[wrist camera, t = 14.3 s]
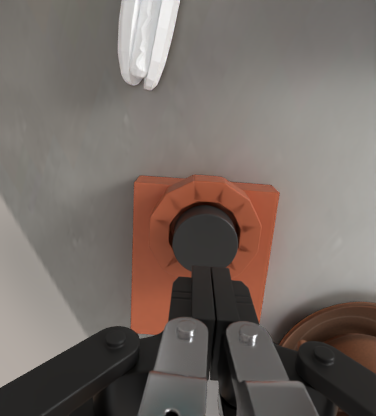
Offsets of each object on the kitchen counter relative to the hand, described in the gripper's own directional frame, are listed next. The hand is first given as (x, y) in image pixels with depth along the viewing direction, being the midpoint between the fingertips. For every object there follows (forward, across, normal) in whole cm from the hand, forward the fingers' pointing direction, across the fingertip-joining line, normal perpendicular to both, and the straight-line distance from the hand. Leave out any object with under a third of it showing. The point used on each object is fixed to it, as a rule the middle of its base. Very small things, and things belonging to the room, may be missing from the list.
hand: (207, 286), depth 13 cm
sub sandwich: (+10, +4, -12) cm, 16 cm away
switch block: (+10, 0, +3) cm, 10 cm away
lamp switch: (+6, 0, 0) cm, 6 cm away
